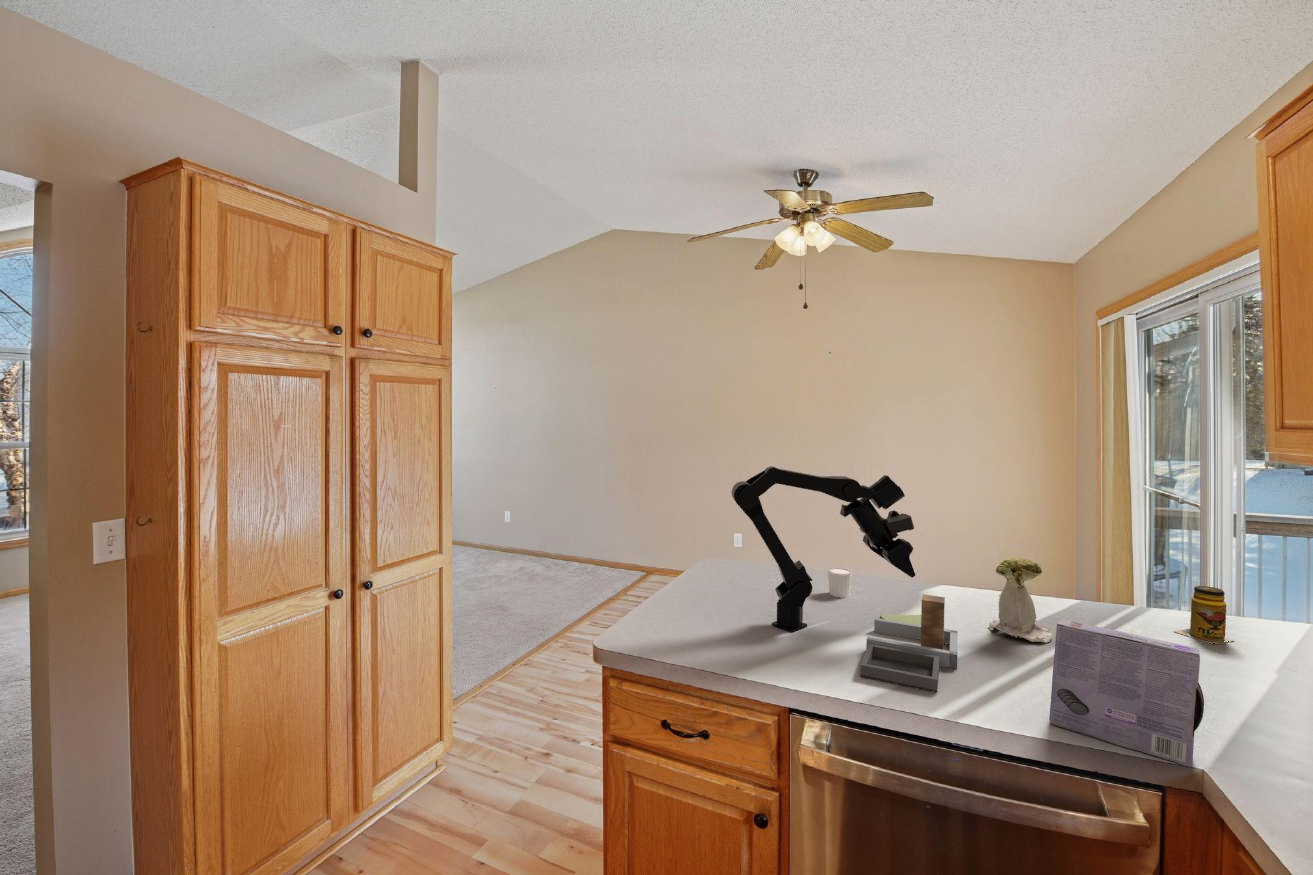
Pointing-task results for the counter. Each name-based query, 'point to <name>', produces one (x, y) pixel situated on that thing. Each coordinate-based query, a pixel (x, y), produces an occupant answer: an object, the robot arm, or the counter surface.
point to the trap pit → (901, 667)
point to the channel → (915, 632)
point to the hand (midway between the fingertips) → (906, 571)
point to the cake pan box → (1127, 690)
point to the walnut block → (932, 621)
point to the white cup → (839, 582)
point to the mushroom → (1018, 601)
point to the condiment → (1207, 616)
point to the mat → (903, 618)
